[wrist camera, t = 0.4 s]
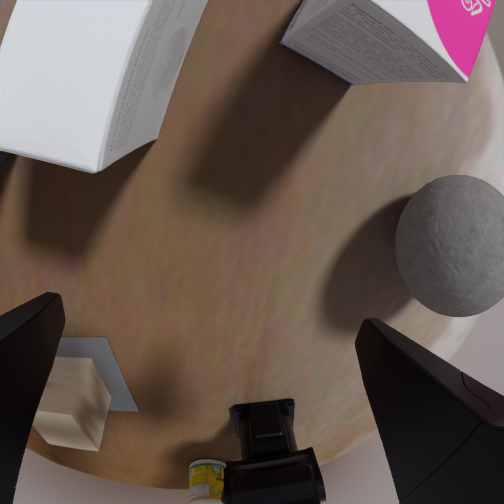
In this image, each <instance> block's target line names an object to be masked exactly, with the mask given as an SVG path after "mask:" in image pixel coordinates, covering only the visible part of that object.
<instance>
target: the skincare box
mask: <svg viewBox="0 0 504 504" xmlns="http://www.w3.org/2000/svg"><path fill="white" fill-rule="evenodd" d="M207 2H208V0H17V2H16V5H15V7H14V10H13V13H12V15H11V18H10V21H9V23H8V26H7V29H6V32H5V35H4V38H3V41H2V44H1V47H0V150H1V151H5V152H9V153H14V154H18V155H22V156H26V157H30V158H33V159H38V160H42V161H46V162H50V163H54V164H57V165H61V166H65V167H69V168H73V169H77V170H81V171H84V172H88V173H97V172H99V171H102V170H103V169H105V168H106V167H108V166H109V165H111V164H112V163H114V162H115V161H116V160H118V159H120V158H121V157H123V156H125V155H126V154H128V153H130V152H132V151H133V150H135V149H137V148H139V147H141V146H143V145H144V144H146V143H148V142H150V141H153V140H155V139H157V138H158V135H159V131H160V128H161V125H162V122H163V119H164V116H165V113H166V110H167V107H168V104H169V101H170V98H171V95H172V92H173V89H174V86H175V84H176V81H177V78H178V75H179V72H180V69H181V67H182V64H183V61H184V59H185V56H186V53H187V51H188V48H189V46H190V43H191V41H192V38H193V36H194V33H195V30H196V28H197V26H198V23H199V21H200V18H201V16H202V13H203V11H204V9H205V6H206V4H207Z"/></svg>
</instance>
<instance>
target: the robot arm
mask: <svg viewBox="0 0 504 504" xmlns="http://www.w3.org/2000/svg"><path fill="white" fill-rule="evenodd" d="M64 326H65V313H64V308H63V303H62V298H61V296H60V294H58V293H52V292H46V293H44V294H42V295H40V296H38V297H36V298H34V299H32V300H30V301H28V302H26V303H24V304H22V305H20V306H18V307H16V308H14V309H12V310H11V311H9V312H7V313H5V314H3V315H1V316H0V504H13V499H14V494H15V489H16V488H15V487H16V484H17V479H18V475H19V471H20V467H21V463H22V458H23V455H24V452H25V448H26V444H27V441H28V438H29V434H30V431H31V428H32V424H33V421H34V418H35V415H36V412H37V409H38V406H39V403H40V400H41V397H42V394H43V392H44V389H45V386H46V383H47V381H48V378H49V375H50V373H51V370H52V367H53V364H54V360H55V357H56V353H57V350H58V346H59V342H60V339H61V336H62V332H63V329H64ZM355 348H356V352H357V356H358V361H359V365H360V370H361V374H362V379H363V383H364V387H365V390H366V393H367V396H368V399H369V402H370V406H371V409H372V412H373V415H374V418H375V421H376V424H377V427H378V431H379V434H380V437H381V440H382V443H383V447H384V450H385V453H386V457H387V460H388V463H389V467H390V470H391V474H392V478H393V481H394V485H395V488H396V492H397V496H398V499H399V501H400V502H399V504H504V396H503V395H501V394H499V393H498V392H496V391H494V390H492V389H490V388H489V387H487V386H485V385H483V384H482V383H480V382H478V381H477V380H475V379H473V378H472V377H470V376H468V375H467V374H465V373H464V372H460V370H459V369H457V368H456V367H454V366H452V365H451V364H449V363H448V362H446V361H445V360H443V359H441V358H440V357H438V356H437V355H435V354H433V353H432V352H430V351H429V350H427V349H425V348H424V347H422V346H421V345H419V344H417V343H416V342H414V341H413V340H411V339H409V338H408V337H406V336H405V335H403V334H401V333H400V332H398V331H397V330H395V329H393V328H392V327H390V326H389V325H387V324H385V323H384V322H382V321H380V320H379V319H377V318H366V319H364V321H363V322H362V325H361V327H360V330H359V332H358V335H357V337H356V340H355ZM294 407H295V403H294V400H293V399H284V400H277V401H269V402H261V403H251V404H241V405H235V406H233V415H234V421H235V427H236V433H237V437H238V438H240V443H241V453H242V460H239V461H226V468H224V469H223V472H224V485H223V490H222V496H221V502H222V503H223V504H320V502H324V501H326V494H325V488H324V483H323V479H322V475H321V472H320V469H319V466H318V463H317V460H316V457H315V454H314V451H313V448H312V447H309V448H307V449H304V450H299V451H298V449H297V445H296V440H295V436H294V432H293V419H294Z"/></svg>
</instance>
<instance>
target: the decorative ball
mask: <svg viewBox="0 0 504 504" xmlns="http://www.w3.org/2000/svg"><path fill="white" fill-rule="evenodd" d="M395 257H396V262H397V267H398V270H399V273H400V275H401V278H402V280H403V282H404V283H405V285H406V287H407V288H408V290H409V291H410V293H411V294H412V295H413V296H414V297H415V298H416V299H417V300H418V301H419V302H420V303H421V304H422V305H424V306H425V307H427V308H429V309H430V310H432V311H434V312H436V313H439V314H442V315H446V316H451V317H467V316H472V315H476V314H479V313H481V312H484V311H486V310H488V309H489V308H491V307H492V306H494V305H495V304H496V303H498V302H499V301H500V300H501V299H502V298H503V297H504V196H503V195H502V194H501V193H500V192H499V191H498V190H497V189H496V188H494V187H493V186H492V185H490V184H489V183H487V182H485V181H483V180H481V179H478V178H475V177H471V176H466V175H449V176H445V177H441V178H438V179H435V180H433V181H432V182H430V183H428V184H426V185H425V186H423V187H422V188H421V189H419V190H418V191H417V192H416V193H415V194H414V195H413V197H412V198H411V199H410V200H409V202H408V203H407V205H406V206H405V208H404V210H403V212H402V214H401V216H400V219H399V222H398V225H397V229H396V235H395Z"/></svg>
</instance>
